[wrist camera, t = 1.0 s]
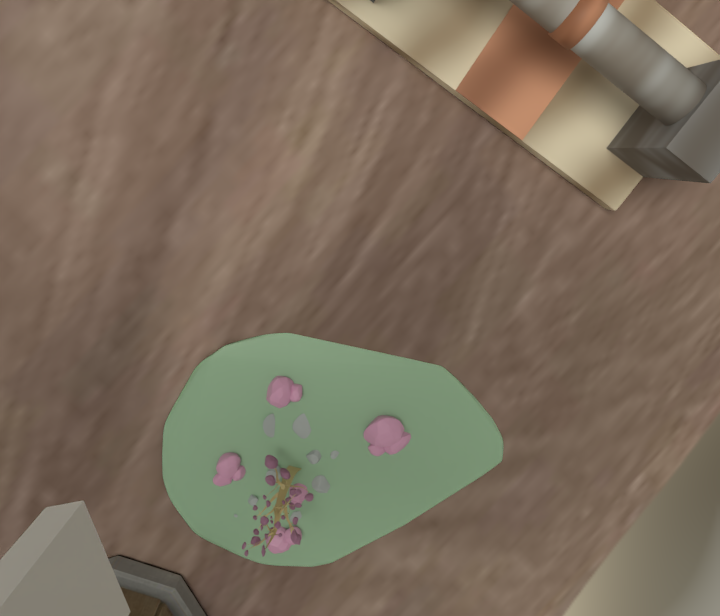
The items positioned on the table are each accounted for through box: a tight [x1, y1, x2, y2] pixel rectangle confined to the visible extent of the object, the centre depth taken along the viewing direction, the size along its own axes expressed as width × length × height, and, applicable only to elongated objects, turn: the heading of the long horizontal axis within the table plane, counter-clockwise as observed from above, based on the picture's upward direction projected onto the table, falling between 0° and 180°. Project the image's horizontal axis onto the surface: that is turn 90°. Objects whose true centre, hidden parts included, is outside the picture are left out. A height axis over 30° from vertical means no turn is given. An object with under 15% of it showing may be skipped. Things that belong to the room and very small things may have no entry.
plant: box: [162, 333, 503, 567], centre depth 36 cm, size 25×21×9 cm
